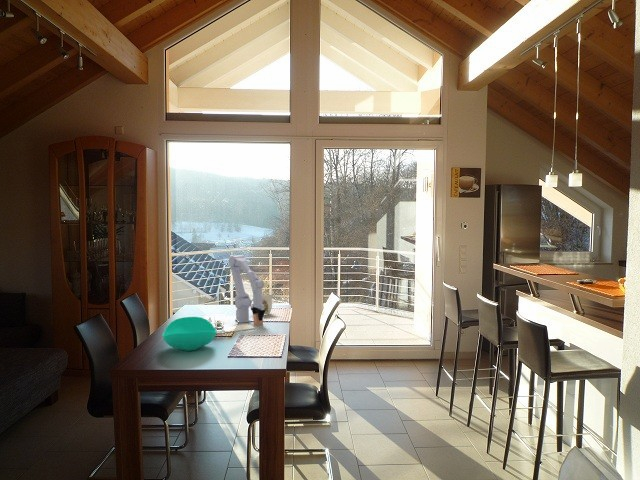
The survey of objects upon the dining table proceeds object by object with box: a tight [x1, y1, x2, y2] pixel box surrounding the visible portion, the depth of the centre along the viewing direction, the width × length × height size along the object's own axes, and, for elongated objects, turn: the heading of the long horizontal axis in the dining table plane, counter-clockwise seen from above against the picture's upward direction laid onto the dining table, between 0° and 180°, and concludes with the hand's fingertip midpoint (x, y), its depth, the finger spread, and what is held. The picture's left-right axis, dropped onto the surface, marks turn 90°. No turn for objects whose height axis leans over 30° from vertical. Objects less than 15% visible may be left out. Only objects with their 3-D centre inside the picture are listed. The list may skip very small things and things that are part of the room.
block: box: [252, 313, 264, 327], centre depth 317 cm, size 4×4×7 cm
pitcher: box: [249, 294, 276, 315], centre depth 348 cm, size 11×18×14 cm, turn 92°
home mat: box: [233, 323, 256, 333], centre depth 307 cm, size 14×18×1 cm
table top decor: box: [162, 316, 217, 352], centre depth 263 cm, size 40×28×13 cm
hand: (258, 319), depth 316 cm, fingers open, 7 cm apart
